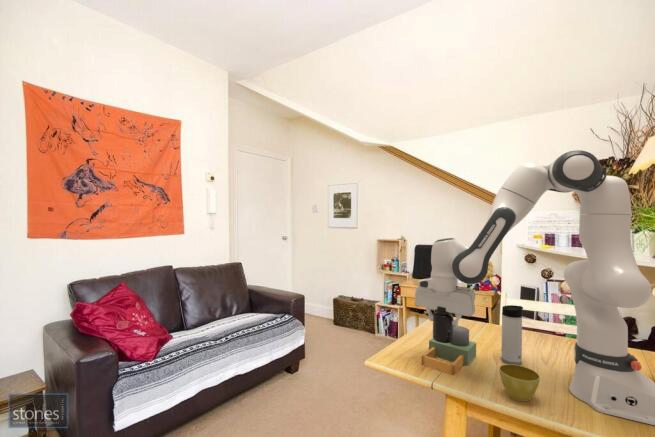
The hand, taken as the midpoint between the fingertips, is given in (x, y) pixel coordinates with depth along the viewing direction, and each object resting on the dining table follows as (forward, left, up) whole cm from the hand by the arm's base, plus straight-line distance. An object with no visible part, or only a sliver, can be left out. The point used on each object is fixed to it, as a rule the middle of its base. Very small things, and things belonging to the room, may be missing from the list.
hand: (443, 323), depth 111 cm
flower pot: (-24, +5, -15) cm, 29 cm away
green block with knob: (0, -10, -14) cm, 17 cm away
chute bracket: (0, 0, -14) cm, 14 cm away
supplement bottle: (0, 0, -6) cm, 6 cm away
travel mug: (-18, -19, -15) cm, 30 cm away
